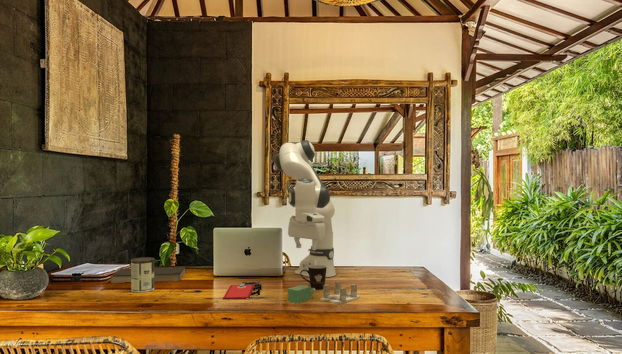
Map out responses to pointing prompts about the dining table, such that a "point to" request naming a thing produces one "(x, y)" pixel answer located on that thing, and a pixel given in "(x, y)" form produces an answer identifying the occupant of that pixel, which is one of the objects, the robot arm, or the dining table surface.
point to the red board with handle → (242, 290)
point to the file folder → (159, 274)
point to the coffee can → (142, 274)
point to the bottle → (300, 293)
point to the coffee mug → (316, 276)
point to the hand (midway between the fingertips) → (306, 248)
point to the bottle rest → (339, 294)
